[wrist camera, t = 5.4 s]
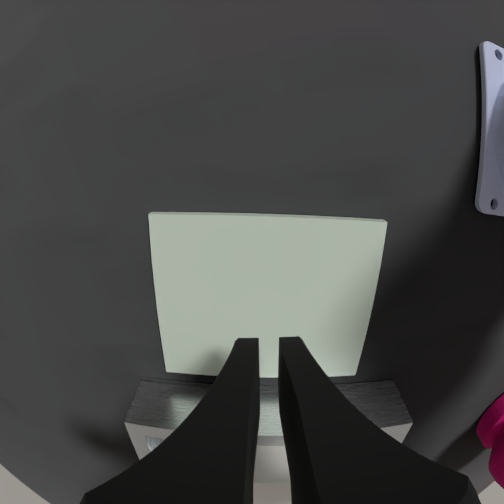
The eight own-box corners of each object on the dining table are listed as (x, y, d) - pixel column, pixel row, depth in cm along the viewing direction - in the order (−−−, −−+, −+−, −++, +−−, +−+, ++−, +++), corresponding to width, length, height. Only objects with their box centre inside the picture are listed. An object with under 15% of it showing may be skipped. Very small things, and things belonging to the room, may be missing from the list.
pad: (383, 219, 12) (387, 222, 11) (353, 369, 14) (355, 375, 14) (151, 211, 12) (148, 214, 11) (168, 366, 14) (166, 371, 14)
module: (307, 408, 15) (318, 479, 11) (300, 461, 17) (306, 519, 13) (225, 410, 15) (218, 482, 11) (233, 463, 17) (229, 522, 13)
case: (393, 379, 15) (425, 450, 10) (338, 495, 19) (346, 544, 15) (142, 377, 15) (112, 452, 10) (178, 494, 20) (169, 543, 15)
